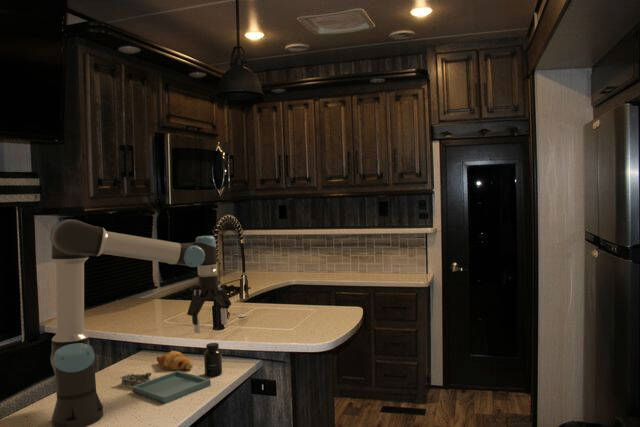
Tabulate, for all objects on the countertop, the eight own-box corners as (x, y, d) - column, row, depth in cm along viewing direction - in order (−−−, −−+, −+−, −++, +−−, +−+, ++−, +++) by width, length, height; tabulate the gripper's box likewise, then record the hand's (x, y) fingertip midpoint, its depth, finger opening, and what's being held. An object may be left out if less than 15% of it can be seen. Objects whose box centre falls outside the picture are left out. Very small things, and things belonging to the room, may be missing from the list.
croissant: (197, 376, 213) (203, 357, 216) (181, 372, 205) (187, 352, 208) (162, 368, 224) (168, 350, 227) (145, 364, 217) (152, 345, 220)
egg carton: (153, 383, 199) (153, 372, 198) (138, 390, 192) (137, 379, 192) (134, 379, 204) (133, 369, 204) (118, 386, 197) (117, 375, 197)
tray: (164, 404, 176) (164, 397, 176) (132, 392, 189) (131, 386, 189) (210, 385, 192) (210, 379, 192) (177, 376, 205) (177, 370, 204)
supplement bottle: (211, 378, 200) (209, 347, 200) (201, 374, 205) (199, 345, 204) (226, 373, 205) (224, 343, 205) (215, 370, 210) (214, 340, 209)
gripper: (187, 280, 191) (191, 337, 192) (237, 270, 211) (241, 322, 212) (175, 279, 196) (179, 334, 197) (225, 270, 216) (228, 320, 216)
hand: (211, 328), depth 204 cm, fingers open, 13 cm apart
